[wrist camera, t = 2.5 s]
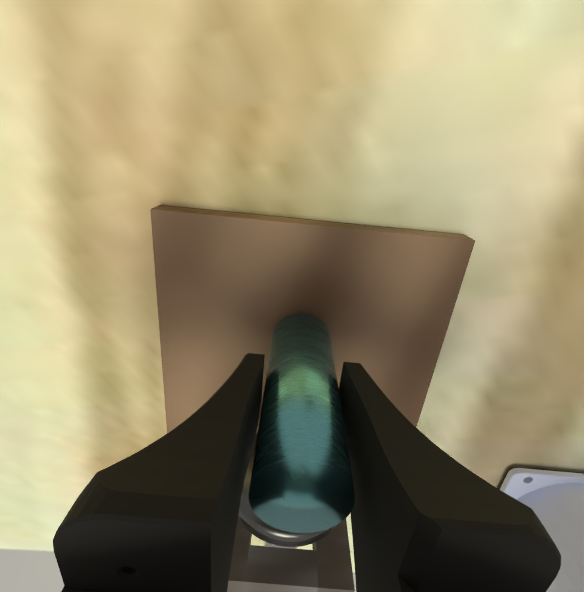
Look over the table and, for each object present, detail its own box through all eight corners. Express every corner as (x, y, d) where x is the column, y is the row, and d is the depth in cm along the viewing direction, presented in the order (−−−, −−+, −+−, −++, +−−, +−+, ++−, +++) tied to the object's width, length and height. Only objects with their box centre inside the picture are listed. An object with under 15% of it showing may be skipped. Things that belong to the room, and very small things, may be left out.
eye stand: (464, 234, 15) (597, 308, 8) (394, 466, 20) (439, 620, 14) (160, 205, 14) (42, 256, 8) (175, 447, 20) (114, 594, 14)
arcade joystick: (362, 318, 15) (415, 470, 8) (327, 495, 19) (341, 688, 12) (246, 307, 15) (198, 452, 8) (238, 488, 19) (204, 678, 12)
